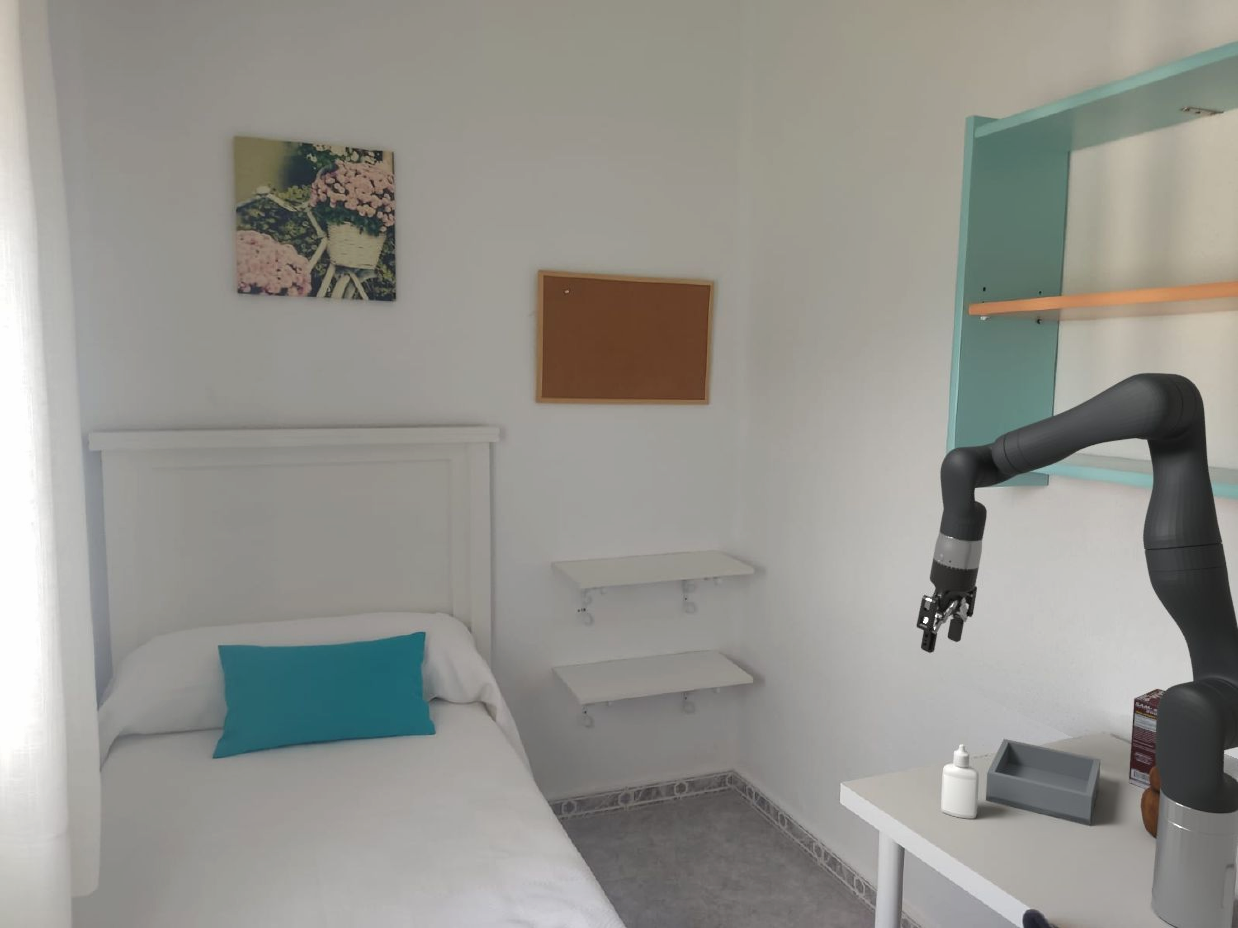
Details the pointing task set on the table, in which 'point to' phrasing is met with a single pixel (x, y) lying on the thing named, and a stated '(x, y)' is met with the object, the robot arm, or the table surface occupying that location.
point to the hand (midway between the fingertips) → (940, 645)
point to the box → (1044, 781)
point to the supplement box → (1144, 738)
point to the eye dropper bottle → (960, 786)
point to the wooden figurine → (1151, 802)
